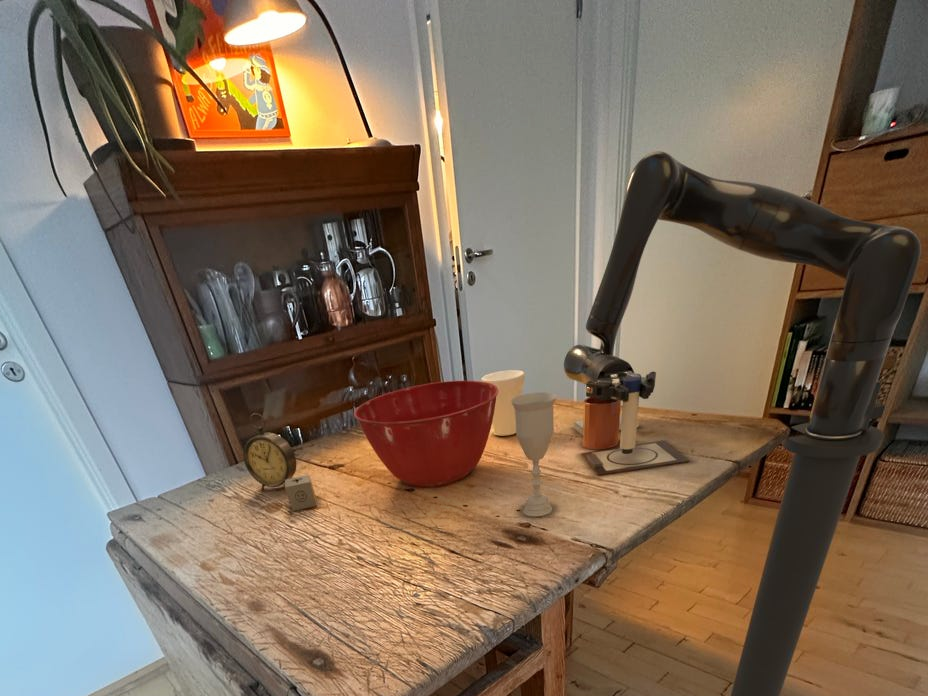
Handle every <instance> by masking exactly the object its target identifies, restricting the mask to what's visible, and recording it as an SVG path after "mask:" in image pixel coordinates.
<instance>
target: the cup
mask: <svg viewBox="0 0 928 696" xmlns="http://www.w3.org/2000/svg"><path fill="white" fill-rule="evenodd" d="M481 382H487V383H490V384H493V385H495V386H496V387H497V388H498V394H497V396H496V403H495V409H494V415H493V420H492V429H493V434H494V435H496V436H511V435H514V434H516V420H515V408H514V406H513V404H512V403H511V400H512V399H513V398H515V397H517V396H521V395H523V386H524V382H525V372H524V371H523V370H516V369H515V370H514V369H513V370H512V369H511V370H501V371H496V372H492V373H488V374H486V375H483V376H482V378H481Z"/></svg>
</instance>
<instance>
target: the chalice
mask: <svg viewBox="0 0 928 696" xmlns="http://www.w3.org/2000/svg"><path fill="white" fill-rule="evenodd" d="M556 398H557V395H556V394H555V393H552V392H530V393H524V394H522V395H521V396H517V397H515V398H513V399H512V400H511V403H512V404H513V406H514V408H515V420H516V433H515V434H516V437H517V440H518V443H519V445H520V447H521V450H522V452H523V453H524V455H525V457H526V459H527V460H529V461H531V462H532V470H531V474H532V476H533V480H532V482H531V483H530V484H531V485H532V487H533V493H532V495H530V496H528V498H527V499H526V500H525V504H524V507H523V509H522V513H523V515H525V516H528V517H542V516H547V515H549V514H550V513H551V512H552V511H553V507H552V506H551V503H550V501H549V498H548V497H547V496H546V495H545V494H543V493H541V490H540V488H541V484H542V483H543V482H542V480H541V479H540V474H541V472H542V471H541V469H540V461H541V460H543V458H544V457H545V456H546V453H547V450H548V449H549V446H550V444H551V441H552V437H553V433H554V404H555V402H556Z"/></svg>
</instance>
